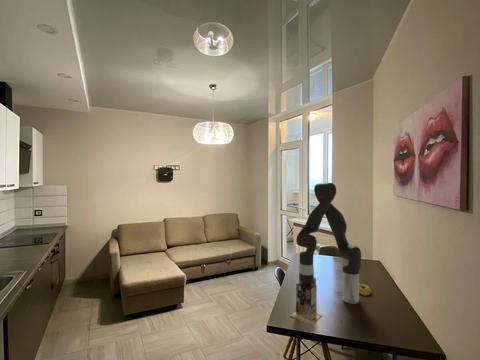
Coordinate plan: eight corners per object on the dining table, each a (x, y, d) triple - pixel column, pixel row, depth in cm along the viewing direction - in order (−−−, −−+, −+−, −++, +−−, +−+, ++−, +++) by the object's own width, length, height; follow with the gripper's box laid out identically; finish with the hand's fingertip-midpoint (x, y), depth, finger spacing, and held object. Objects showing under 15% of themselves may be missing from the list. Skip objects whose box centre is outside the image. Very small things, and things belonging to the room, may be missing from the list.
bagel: (357, 295, 161) (357, 288, 161) (352, 288, 172) (352, 281, 172) (374, 296, 160) (374, 289, 160) (367, 289, 171) (367, 282, 171)
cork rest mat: (301, 308, 145) (301, 307, 145) (321, 316, 137) (321, 314, 137) (290, 316, 136) (290, 315, 136) (310, 325, 128) (310, 324, 128)
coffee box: (317, 315, 136) (317, 285, 136) (311, 320, 131) (311, 288, 131) (301, 309, 142) (301, 280, 142) (295, 314, 137) (295, 283, 137)
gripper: (306, 266, 144) (306, 295, 144) (292, 273, 134) (292, 304, 134) (319, 270, 139) (319, 300, 139) (305, 277, 129) (305, 309, 129)
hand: (306, 302), depth 136 cm, fingers open, 8 cm apart
